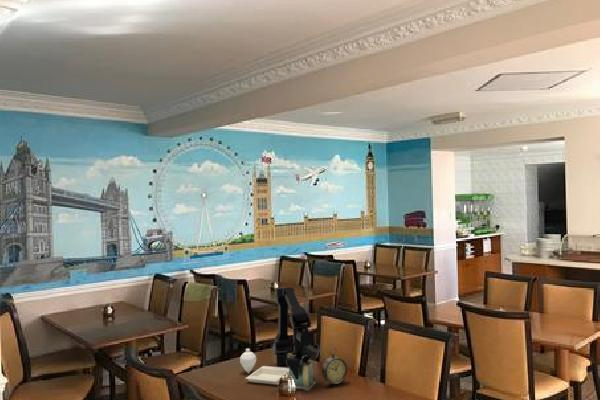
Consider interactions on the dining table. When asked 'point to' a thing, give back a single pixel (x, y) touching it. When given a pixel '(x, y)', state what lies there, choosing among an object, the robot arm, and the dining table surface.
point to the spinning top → (248, 360)
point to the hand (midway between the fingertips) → (301, 375)
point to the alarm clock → (334, 369)
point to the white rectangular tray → (268, 375)
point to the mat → (306, 387)
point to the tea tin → (304, 375)
